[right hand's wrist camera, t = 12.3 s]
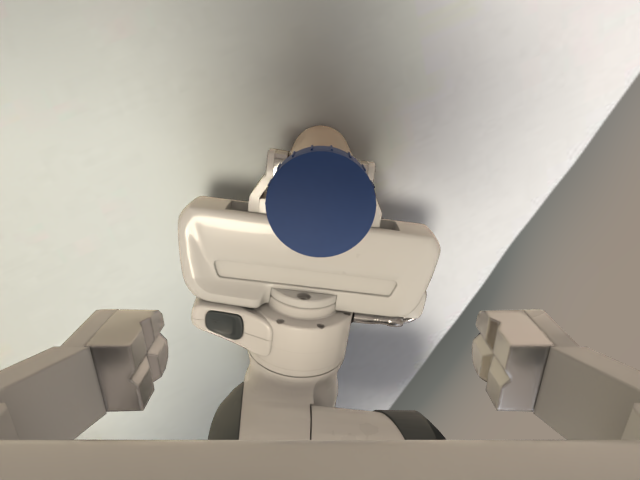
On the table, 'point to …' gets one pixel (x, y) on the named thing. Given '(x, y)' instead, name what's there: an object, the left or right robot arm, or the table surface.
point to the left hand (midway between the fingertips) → (321, 156)
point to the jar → (320, 139)
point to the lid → (320, 201)
